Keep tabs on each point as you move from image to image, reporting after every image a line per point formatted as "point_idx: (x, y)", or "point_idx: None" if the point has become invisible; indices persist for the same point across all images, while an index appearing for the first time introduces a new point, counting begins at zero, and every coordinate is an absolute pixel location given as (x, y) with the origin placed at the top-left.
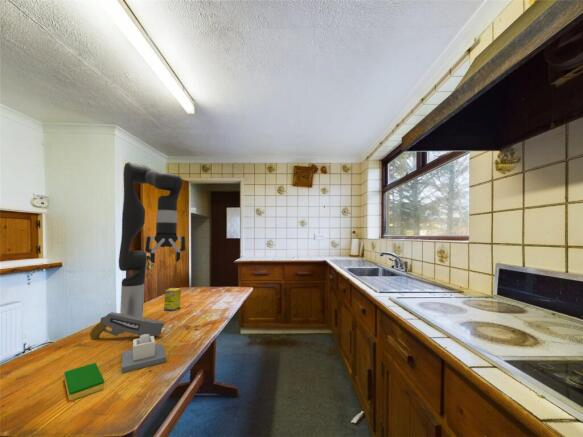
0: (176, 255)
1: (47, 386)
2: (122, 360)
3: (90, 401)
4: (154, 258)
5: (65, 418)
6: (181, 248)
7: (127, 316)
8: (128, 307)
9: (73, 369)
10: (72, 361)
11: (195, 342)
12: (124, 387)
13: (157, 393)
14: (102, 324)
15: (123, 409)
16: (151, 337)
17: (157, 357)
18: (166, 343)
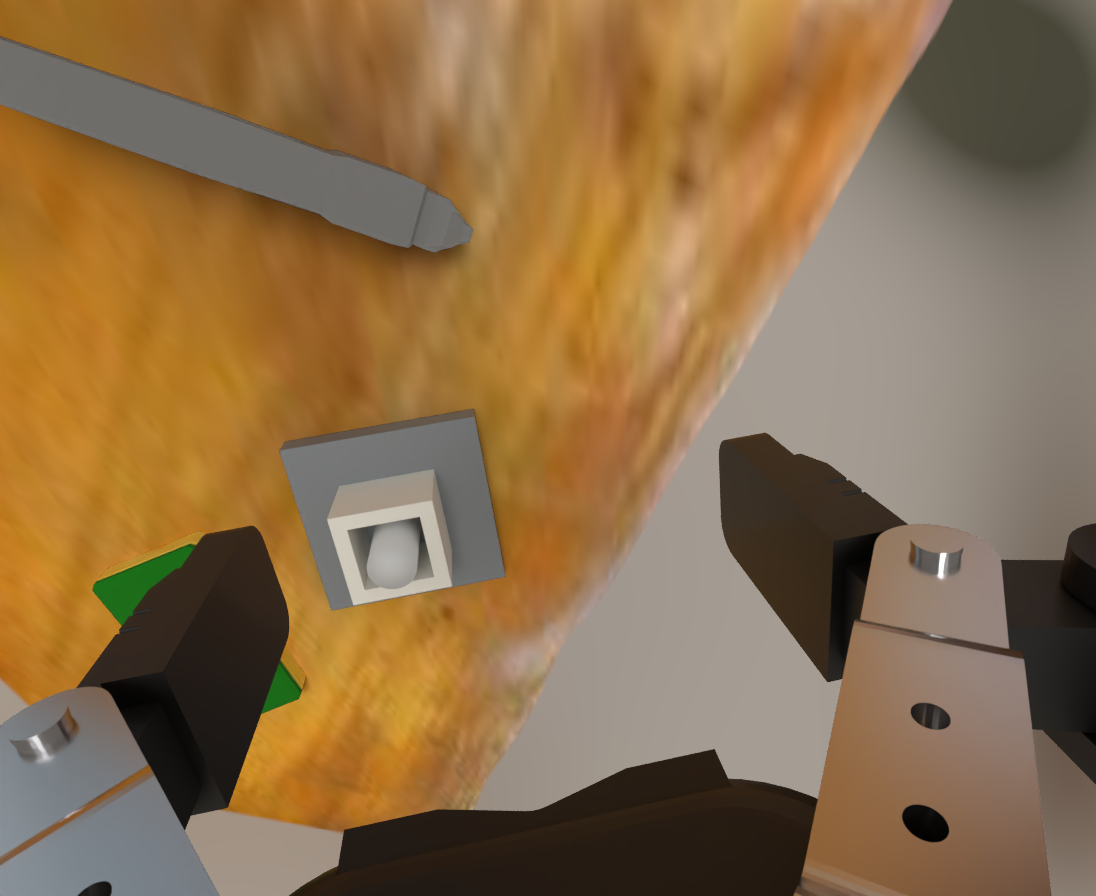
0: (786, 599)
1: (72, 609)
2: (313, 549)
3: (292, 731)
4: (261, 696)
5: (257, 781)
6: (1064, 724)
7: (140, 120)
8: None
9: (120, 582)
10: (30, 408)
11: (645, 406)
12: (377, 691)
13: (488, 745)
14: None
15: (405, 784)
16: (424, 521)
17: (467, 570)
18: (493, 357)
